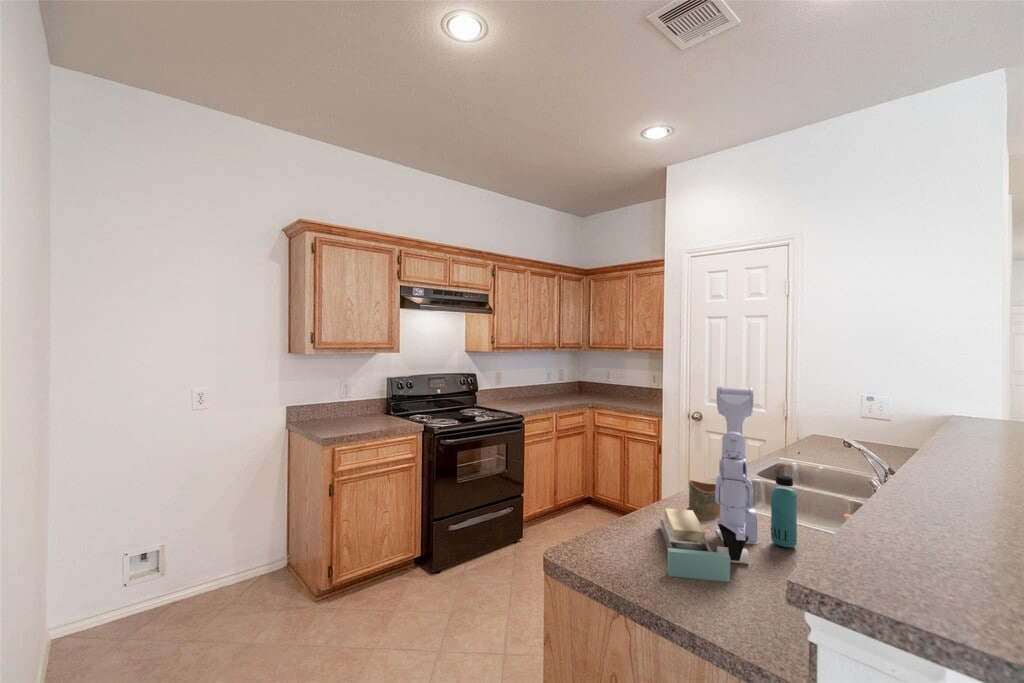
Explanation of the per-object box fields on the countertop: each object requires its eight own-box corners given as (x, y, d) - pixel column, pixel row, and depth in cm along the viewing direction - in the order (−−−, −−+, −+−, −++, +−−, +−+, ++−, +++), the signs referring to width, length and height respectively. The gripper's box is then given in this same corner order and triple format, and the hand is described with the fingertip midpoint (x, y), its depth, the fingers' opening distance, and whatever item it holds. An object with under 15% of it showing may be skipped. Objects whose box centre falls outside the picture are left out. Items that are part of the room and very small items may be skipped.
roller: (744, 559, 120) (744, 546, 120) (749, 566, 116) (749, 552, 116) (716, 557, 121) (716, 543, 121) (720, 563, 117) (720, 550, 117)
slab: (692, 518, 137) (692, 510, 137) (704, 541, 121) (704, 532, 121) (664, 516, 139) (665, 508, 138) (673, 538, 123) (673, 529, 123)
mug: (747, 525, 143) (747, 486, 143) (687, 518, 148) (687, 481, 148) (740, 511, 154) (740, 476, 154) (684, 506, 159) (685, 471, 159)
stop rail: (727, 577, 110) (727, 553, 110) (730, 582, 108) (730, 557, 108) (667, 571, 113) (667, 547, 113) (668, 576, 111) (669, 551, 111)
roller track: (696, 531, 138) (696, 517, 138) (719, 576, 111) (719, 559, 111) (659, 528, 140) (660, 514, 140) (674, 571, 113) (674, 555, 113)
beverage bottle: (794, 544, 129) (794, 474, 129) (800, 554, 123) (801, 481, 123) (768, 541, 131) (768, 472, 131) (773, 551, 125) (773, 478, 125)
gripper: (709, 494, 126) (709, 542, 126) (724, 513, 112) (723, 568, 112) (737, 495, 125) (736, 545, 125) (754, 515, 111) (754, 571, 111)
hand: (732, 556), depth 119 cm, fingers closed on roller, 3 cm apart
